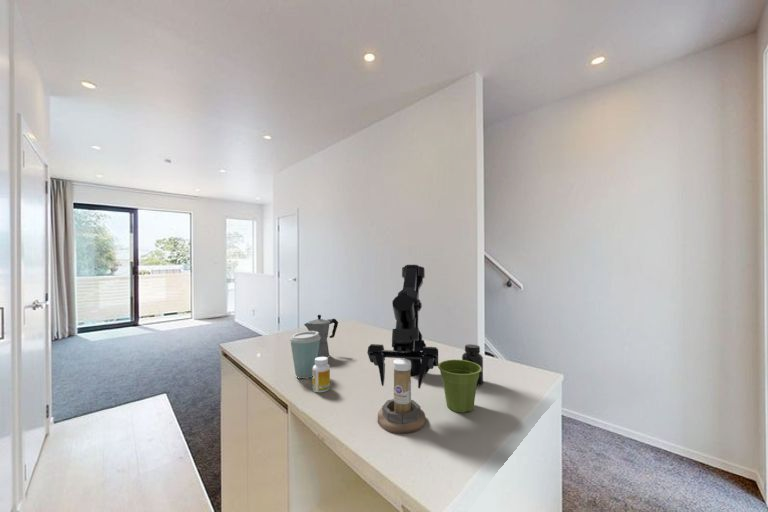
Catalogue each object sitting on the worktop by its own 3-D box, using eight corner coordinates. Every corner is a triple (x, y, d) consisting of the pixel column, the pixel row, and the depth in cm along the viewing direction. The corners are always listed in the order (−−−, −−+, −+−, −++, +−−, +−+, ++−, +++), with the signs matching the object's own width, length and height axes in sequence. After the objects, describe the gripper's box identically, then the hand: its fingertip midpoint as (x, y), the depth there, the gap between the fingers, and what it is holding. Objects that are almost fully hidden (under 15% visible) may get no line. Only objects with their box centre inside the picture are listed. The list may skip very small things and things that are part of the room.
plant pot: (435, 397, 90) (435, 359, 90) (475, 397, 89) (475, 359, 89) (441, 417, 78) (441, 373, 78) (487, 418, 77) (487, 374, 78)
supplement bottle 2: (484, 386, 97) (484, 349, 97) (462, 385, 98) (462, 348, 99) (481, 378, 104) (481, 343, 104) (461, 377, 105) (461, 342, 106)
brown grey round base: (370, 414, 80) (370, 400, 80) (411, 405, 84) (411, 393, 84) (389, 438, 68) (389, 422, 69) (434, 427, 73) (434, 412, 73)
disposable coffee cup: (297, 384, 100) (297, 338, 100) (284, 375, 108) (284, 332, 108) (325, 376, 107) (326, 333, 107) (311, 368, 115) (311, 328, 115)
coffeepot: (308, 363, 121) (308, 318, 121) (300, 357, 128) (300, 314, 129) (342, 356, 130) (342, 314, 130) (333, 351, 137) (333, 311, 138)
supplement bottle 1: (332, 387, 97) (332, 356, 97) (324, 394, 92) (324, 361, 92) (318, 385, 99) (318, 355, 99) (309, 391, 94) (309, 360, 94)
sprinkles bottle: (391, 417, 75) (391, 362, 75) (396, 408, 79) (395, 357, 80) (410, 419, 74) (409, 364, 74) (413, 410, 78) (412, 358, 79)
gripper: (368, 314, 83) (358, 369, 71) (438, 316, 79) (438, 374, 68) (374, 336, 90) (366, 389, 79) (438, 339, 87) (438, 394, 76)
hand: (400, 386), depth 75 cm, fingers open, 9 cm apart
